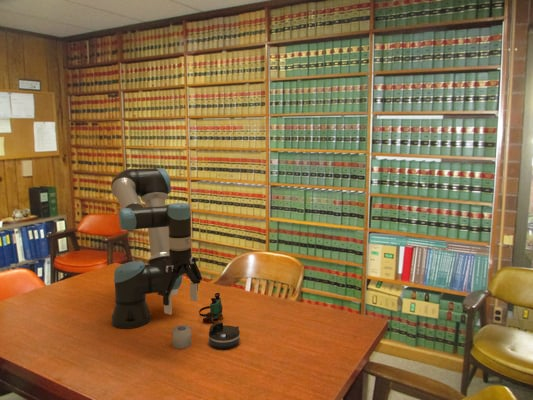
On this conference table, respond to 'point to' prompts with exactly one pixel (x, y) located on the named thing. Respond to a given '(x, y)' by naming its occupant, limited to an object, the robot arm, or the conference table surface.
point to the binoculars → (213, 310)
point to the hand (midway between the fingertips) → (181, 306)
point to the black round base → (223, 336)
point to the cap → (182, 336)
